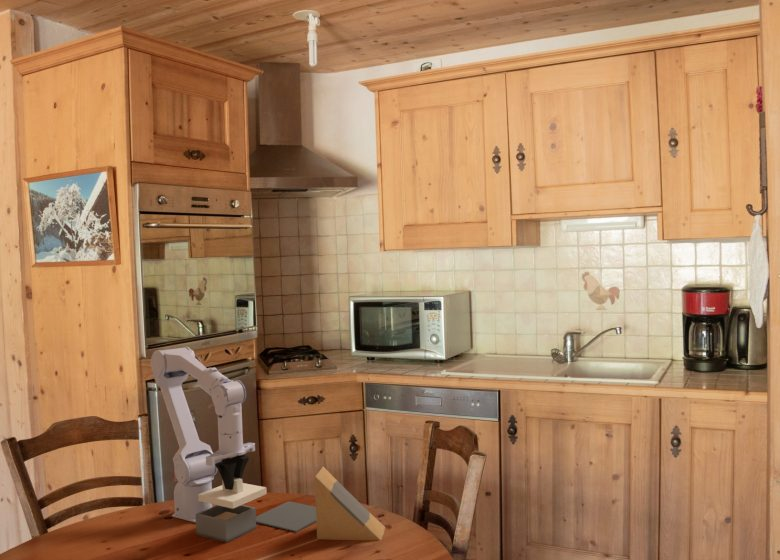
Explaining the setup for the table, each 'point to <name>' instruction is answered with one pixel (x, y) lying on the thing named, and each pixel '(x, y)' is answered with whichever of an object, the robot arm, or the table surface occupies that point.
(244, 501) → the lid
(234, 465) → the robot arm
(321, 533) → the sandwich container
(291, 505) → the mat
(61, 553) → the table surface
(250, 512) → the storage box
